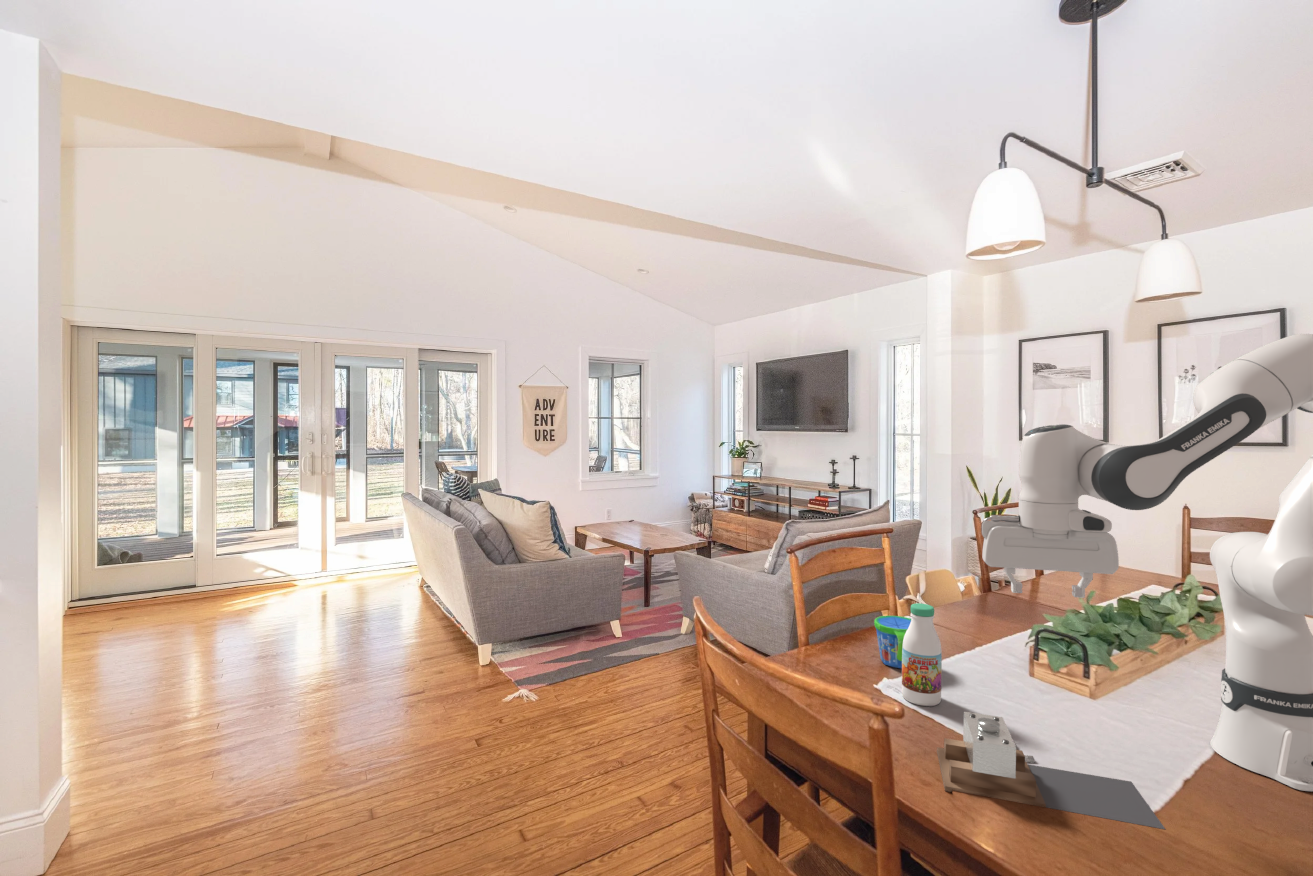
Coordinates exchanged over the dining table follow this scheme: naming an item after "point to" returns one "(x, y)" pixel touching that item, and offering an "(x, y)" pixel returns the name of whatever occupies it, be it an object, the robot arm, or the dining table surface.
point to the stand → (986, 777)
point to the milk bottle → (921, 658)
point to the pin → (1029, 759)
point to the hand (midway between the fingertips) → (1047, 594)
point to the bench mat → (1093, 796)
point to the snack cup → (891, 638)
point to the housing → (989, 745)
